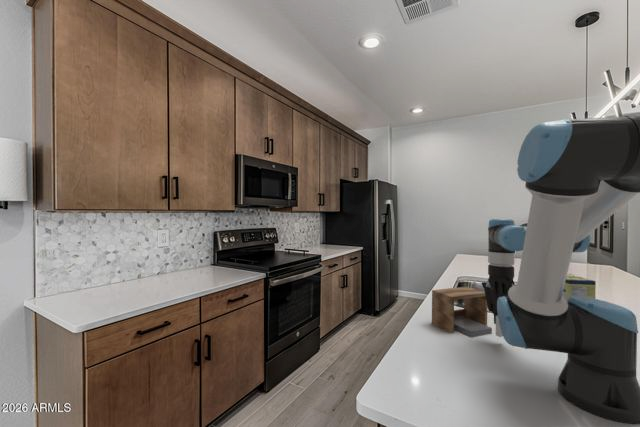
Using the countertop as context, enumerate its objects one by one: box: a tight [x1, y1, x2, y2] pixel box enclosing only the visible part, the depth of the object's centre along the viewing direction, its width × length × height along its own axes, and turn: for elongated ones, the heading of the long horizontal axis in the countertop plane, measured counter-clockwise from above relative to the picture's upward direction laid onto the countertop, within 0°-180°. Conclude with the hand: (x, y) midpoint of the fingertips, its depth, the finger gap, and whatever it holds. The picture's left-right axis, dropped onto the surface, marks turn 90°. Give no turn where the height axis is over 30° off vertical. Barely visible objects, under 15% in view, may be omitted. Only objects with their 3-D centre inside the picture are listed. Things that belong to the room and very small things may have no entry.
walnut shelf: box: [431, 286, 488, 334], centre depth 115 cm, size 10×18×13 cm, turn 112°
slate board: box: [454, 315, 493, 338], centre depth 112 cm, size 14×10×2 cm
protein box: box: [562, 273, 596, 302], centre depth 135 cm, size 10×16×16 cm
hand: (500, 335), depth 99 cm, fingers closed
